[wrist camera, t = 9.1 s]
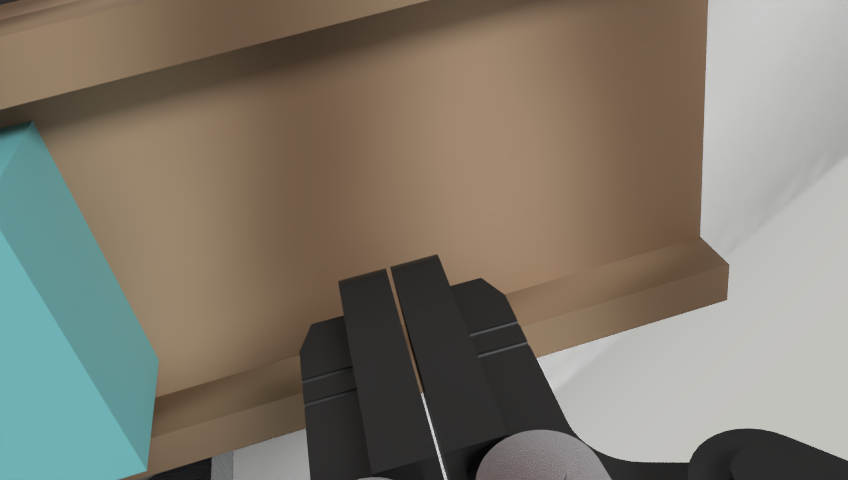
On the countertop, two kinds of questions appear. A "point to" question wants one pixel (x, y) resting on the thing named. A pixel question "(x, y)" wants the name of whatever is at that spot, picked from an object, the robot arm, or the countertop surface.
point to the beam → (365, 172)
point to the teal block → (64, 334)
